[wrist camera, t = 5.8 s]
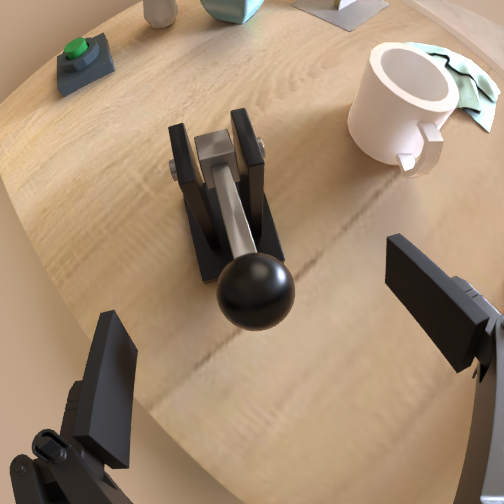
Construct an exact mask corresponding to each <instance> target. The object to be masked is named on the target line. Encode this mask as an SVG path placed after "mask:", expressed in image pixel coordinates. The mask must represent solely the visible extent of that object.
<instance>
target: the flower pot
mask: <svg viewBox="0 0 504 504" xmlns="http://www.w3.org/2000/svg"><path fill="white" fill-rule="evenodd" d="M263 1H264V0H201V3H202V5H203V7H204V8H205V9H206V11H207V12H208V13H209V14H210V15H211V16H213V17H214V18H215V19H217V20H222V21H227V22H232V23H236V24H244V23H245V22H246V21H247V20H248V19H249V18H250V17H251V16H252V15H253V14H254V13H255V12H256V11H257V10H258V9H259V7H260V6H261V4H262V3H263Z"/></svg>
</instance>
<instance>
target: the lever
mask: <svg viewBox="0 0 504 504" xmlns="http://www.w3.org/2000/svg"><path fill="white" fill-rule="evenodd" d="M194 140H195V145H196V149H197V154H198V159H199V163H200V167H201V170H202V174H203V177H204V181H205V184H206V188H207V189H211V188H216V192H217V196H218V200H219V204H220V208H221V212H222V216H223V220H224V224H225V227H226V231H227V235H228V239H229V243H230V247H231V251H232V254H233V258H234V259H233V260H232V261H231V262H230V263H229V264H227V265H226V267H225V268H224V269H223V271H222V273H221V274H220V276H219V279H218V283H217V288H216V295H217V301H218V304H219V307H220V309H221V311H222V313H223V314H224V316H225V317H226V318H227V319H228V320H229V321H230V322H231V323H233V324H234V325H236V326H237V327H239V328H242V329H245V330H249V331H262V330H267V329H270V328H272V327H274V326H276V325H277V324H279V323H280V322H281V321H282V320H284V318H285V317H286V316H287V315H288V313H289V312H290V310H291V308H292V306H293V303H294V298H295V286H294V281H293V278H292V276H291V273H290V272H289V270H288V269H287V267H286V266H285V265H284V264H283V263H282V262H281V261H279V260H278V259H276V258H275V257H273V256H271V255H268V254H264V253H257V250H256V247H255V244H254V241H253V238H252V235H251V231H250V228H249V225H248V222H247V219H246V216H245V213H244V210H243V207H242V204H241V201H240V198H239V195H238V191H237V188H236V185H235V182H238V181H240V180H241V179H240V174H239V169H238V163H237V158H236V152H235V149H234V147H233V144H232V141H231V139H230V136H229V133H228V131H227V129H224V130H220V131H216V132H212V133H208V134H204V135H200V136H197V137H194Z"/></svg>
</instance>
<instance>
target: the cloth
mask: <svg viewBox="0 0 504 504" xmlns="http://www.w3.org/2000/svg"><path fill="white" fill-rule="evenodd" d="M402 44H406V45H410V46H412V47H415V48H417V49H420V50H422V51H424V52H425V53H427V54H428V55H430V56H432V57H433V58H435V59H436V60H437V61H438V62H439V63H440V64H441V65H443V66H444V67H445V68H446V70H447V71H448V72H449V73H450V75H451V76H452V77H453V79H454V81H455V83H456V85H457V87H458V91H459V101H458V104H457V106H456V107H455V108H461V109H462V110H464V111H465V112H466V113H468V114H469V115H470V116H471V117H472V118H473V119H474V120H475V121H476V122H477V123H479V124H480V125H481V126H482V127H483V128H484V129H485V130H486V131H488V132H489V131H490V128H491V125H492V121H493V117H494V111H495V105H496V101H497V99H498V96H497V95H498V94H500V91H499V89H498V88H497V86H496V85H495V83H494V82H493V81H492V80H491V79H490V77H489V76H488V75H487V74H486V73H485V72H484V71H482V69H481V68H480V67H478V66H477V65H476V64H475V63H473V62H472V61H471V60H469V59H467V58H465V57H463V56H461V55H459V54H455V53H454V52H451V51H450V50H448V49H445V48H441V47H438V46H434V45H427V44H421V43H418V44H417V43H402Z"/></svg>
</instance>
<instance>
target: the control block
mask: <svg viewBox="0 0 504 504" xmlns="http://www.w3.org/2000/svg"><path fill="white" fill-rule="evenodd" d="M85 41H86V43H87V45H88V49H87V51H86V52H84V53H83V54H82V55H81V56H79V57H77V58H75V59H72V60H70V59H68V57H67V55H66V54H65V52H63V53H62V54H61V55H59V56H57V83H58V90H59V91H60V93H61V94H62V96H63V97H65V96H67V95H69V94H70V93H72V92H74V91H76V90H77V89H79V88H81V87H83V86H85V85H87V84H89V83H91V82H93V81H95V80H97V79H99V78H101V77H103V76H105V75H107V74H109V73H111V72H113V71H115V69H114V65H113V61H112V57H111V53H110V49H109V45H108V41H107V39H106V36H105V34H104V33H102V34H99V35H97V36H95V37H93V38H90V37H89V38H85Z"/></svg>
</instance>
